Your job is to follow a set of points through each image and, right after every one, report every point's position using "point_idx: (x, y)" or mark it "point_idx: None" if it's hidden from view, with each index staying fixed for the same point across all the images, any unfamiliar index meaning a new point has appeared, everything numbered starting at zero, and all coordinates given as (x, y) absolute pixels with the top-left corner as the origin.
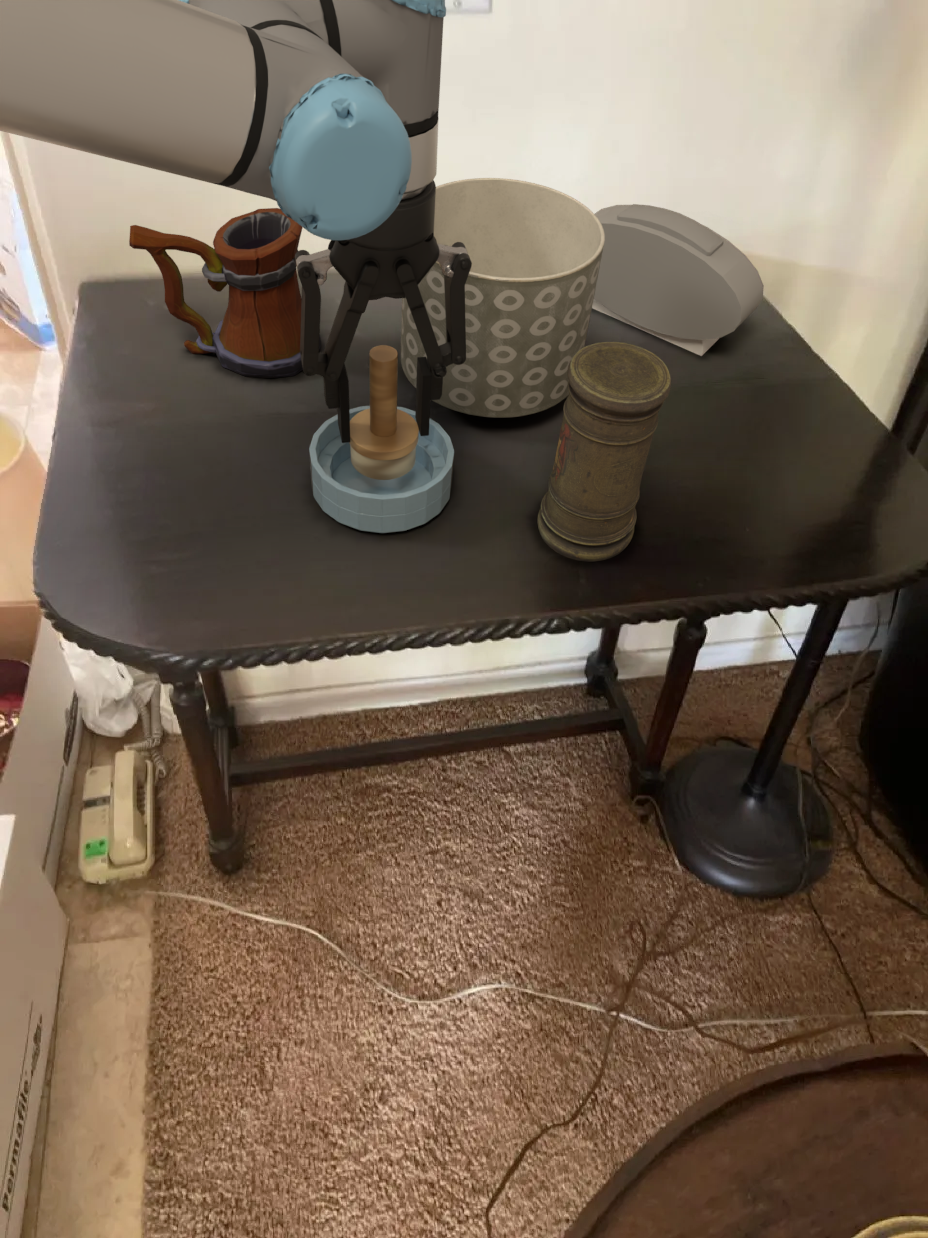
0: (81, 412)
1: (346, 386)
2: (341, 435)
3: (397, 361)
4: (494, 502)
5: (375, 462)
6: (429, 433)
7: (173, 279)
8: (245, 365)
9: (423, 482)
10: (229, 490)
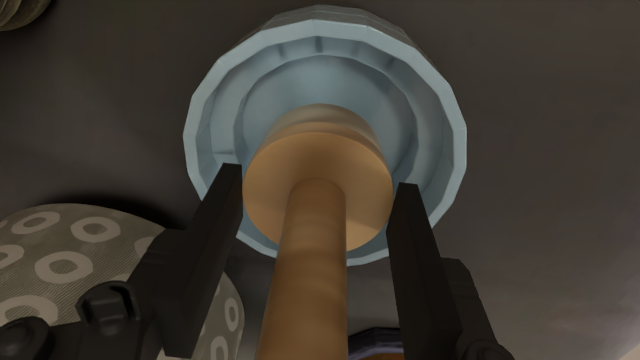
0: (636, 330)
1: (436, 310)
2: (419, 197)
3: None
4: (143, 51)
5: (353, 129)
6: None
7: None
8: None
9: (257, 119)
10: (548, 179)
